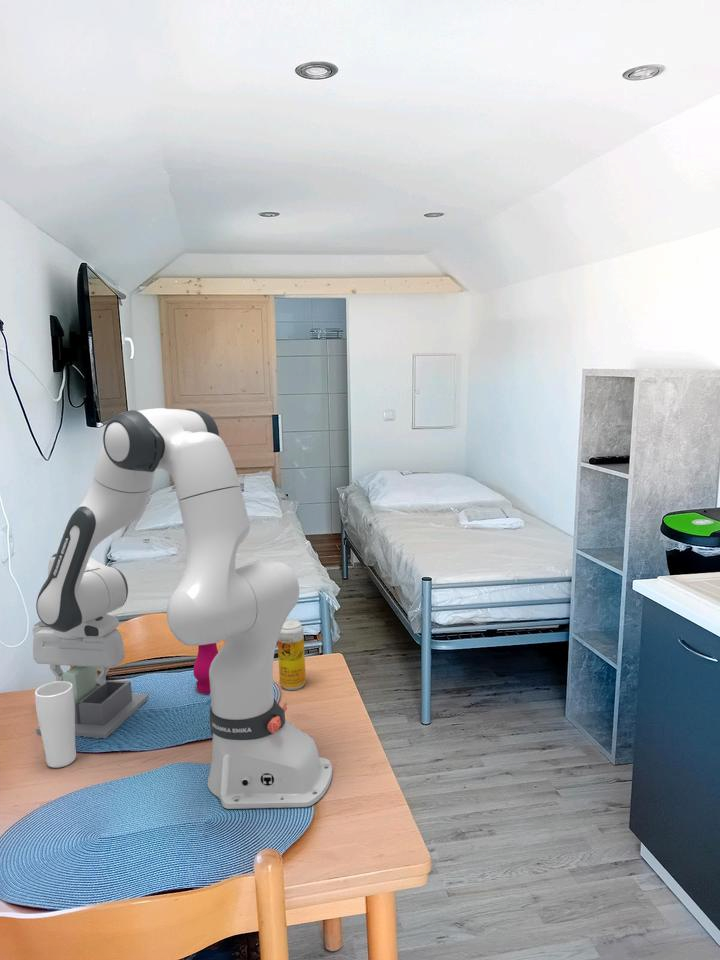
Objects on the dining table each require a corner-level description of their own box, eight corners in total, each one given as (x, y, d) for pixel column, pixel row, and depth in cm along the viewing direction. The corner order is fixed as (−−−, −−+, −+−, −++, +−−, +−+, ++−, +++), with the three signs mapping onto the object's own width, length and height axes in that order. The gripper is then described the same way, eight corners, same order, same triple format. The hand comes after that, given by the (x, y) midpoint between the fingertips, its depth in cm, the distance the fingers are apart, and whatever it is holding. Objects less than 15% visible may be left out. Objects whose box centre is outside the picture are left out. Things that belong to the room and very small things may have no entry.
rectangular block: (100, 702, 158) (96, 659, 157) (79, 719, 151) (75, 675, 149) (88, 701, 159) (84, 659, 157) (67, 718, 151) (62, 674, 150)
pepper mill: (232, 685, 167) (227, 604, 164) (210, 697, 161) (204, 613, 158) (210, 679, 171) (204, 599, 168) (188, 690, 165) (181, 608, 162)
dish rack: (149, 698, 162) (147, 675, 161) (105, 739, 144) (103, 713, 143) (86, 694, 165) (83, 672, 164) (36, 733, 147) (33, 708, 147)
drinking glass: (66, 772, 132) (58, 697, 130) (34, 769, 134) (26, 695, 131) (87, 753, 139) (80, 681, 136) (56, 750, 140) (49, 679, 138)
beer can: (276, 690, 163) (273, 628, 161) (284, 679, 169) (280, 619, 167) (302, 691, 162) (299, 629, 160) (308, 680, 168) (305, 620, 166)
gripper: (22, 626, 151) (29, 687, 153) (109, 629, 147) (115, 692, 149) (41, 615, 157) (48, 674, 159) (125, 619, 153) (130, 679, 155)
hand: (81, 683), depth 154 cm, fingers open, 8 cm apart
